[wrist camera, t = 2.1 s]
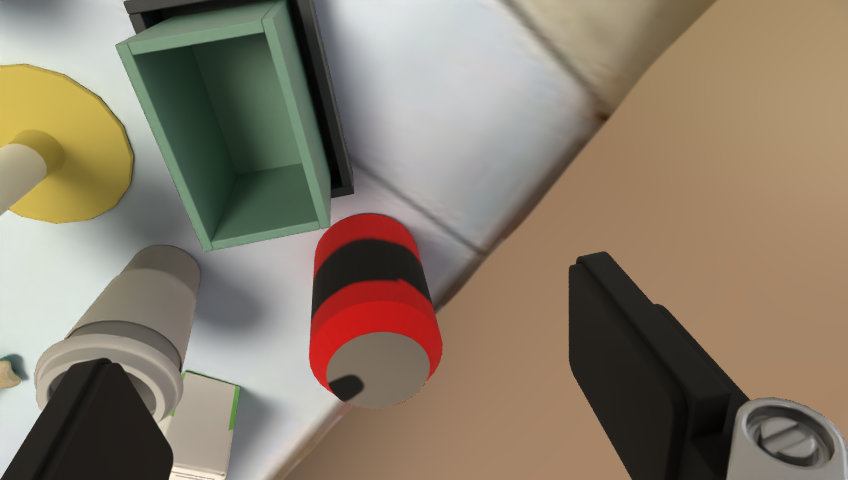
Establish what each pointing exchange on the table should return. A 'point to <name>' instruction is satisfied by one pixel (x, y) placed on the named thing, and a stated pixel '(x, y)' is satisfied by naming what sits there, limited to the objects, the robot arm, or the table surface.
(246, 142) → the box
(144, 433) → the robot arm
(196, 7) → the bottom bin
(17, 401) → the table surface
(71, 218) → the candle
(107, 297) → the cup
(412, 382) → the soda can
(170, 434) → the ink box
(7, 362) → the whale figurine
